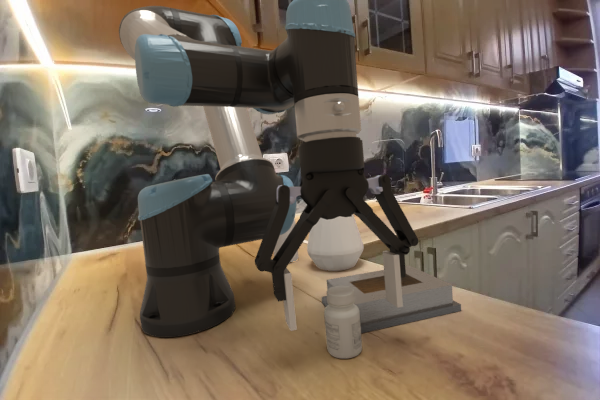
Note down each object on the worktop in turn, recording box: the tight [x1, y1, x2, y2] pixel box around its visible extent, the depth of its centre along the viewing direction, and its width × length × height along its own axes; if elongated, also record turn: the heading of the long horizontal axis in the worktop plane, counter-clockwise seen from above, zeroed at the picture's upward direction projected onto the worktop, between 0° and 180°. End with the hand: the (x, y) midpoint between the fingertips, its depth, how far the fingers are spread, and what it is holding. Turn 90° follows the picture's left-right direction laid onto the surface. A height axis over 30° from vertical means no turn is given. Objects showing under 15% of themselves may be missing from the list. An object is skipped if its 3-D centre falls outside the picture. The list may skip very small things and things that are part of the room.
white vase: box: [306, 214, 365, 272], centre depth 75 cm, size 13×13×14 cm
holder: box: [321, 264, 462, 334], centre depth 51 cm, size 18×12×4 cm, turn 105°
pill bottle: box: [323, 286, 363, 360], centre depth 40 cm, size 4×4×8 cm
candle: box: [273, 218, 299, 262], centre depth 82 cm, size 6×6×15 cm
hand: (344, 314), depth 39 cm, fingers open, 13 cm apart
